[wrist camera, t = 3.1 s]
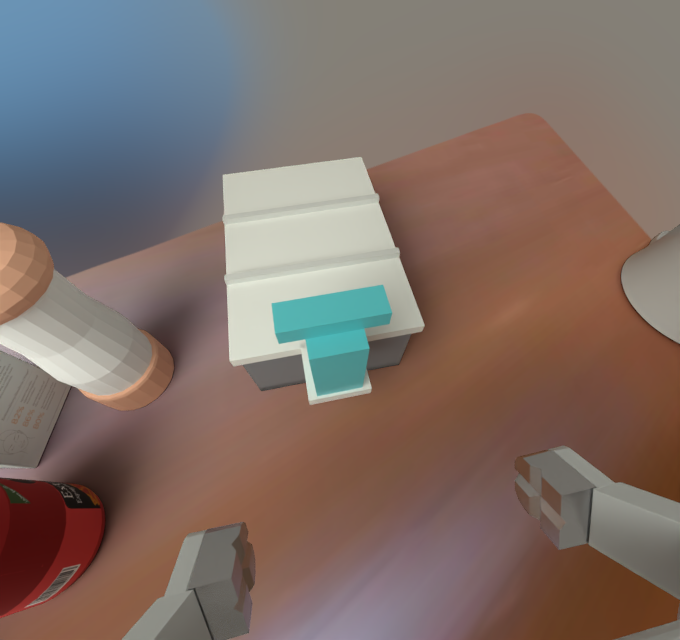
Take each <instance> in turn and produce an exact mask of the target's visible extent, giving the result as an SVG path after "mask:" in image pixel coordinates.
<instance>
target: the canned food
mask: <svg viewBox="0 0 680 640" xmlns="http://www.w3.org/2000/svg"><path fill="white" fill-rule="evenodd" d="M104 528H105V511H104V508H103V504H102V502H101V501H100V499H99V497H98V496H97V495H96V494H95V493H94V492H92V491H91V490H90V489H88V488H86V487H84V486H82V485H78V484H71V483H59V482H46V481H34V480H22V479H10V478H0V618H2V617H5V616H8V615H10V614H13V613H16V612H19V611H22V610H25V609H28V608H31V607H34V606H37V605H40V604H43V603H45V602H47V601H49V600H51V599H53V598H54V597H56V596H57V595H59V594H60V593H61V592H63V591H64V590H65V589H67V588H68V587H69V586H70V585H72V584H73V583H74V582H75V581H76V580H77V579H78V578H79V577H80V576H81V575H82V574H83V572H84V571H85V570H86V569H87V567H88V566H89V565H90V563H91V562H92V560H93V558H94V557H95V555H96V553H97V551H98V548H99V546H100V544H101V541H102V537H103V534H104Z"/></svg>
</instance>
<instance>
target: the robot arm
mask: <svg viewBox="0 0 680 640" xmlns="http://www.w3.org/2000/svg"><path fill="white" fill-rule="evenodd" d="M621 280H622V285H623V289H624V291H625V294H626V296H627V298H628V299H629V301H630V303H631V304H632V306H633V307H634V308H635V309H636V311H637V312H638V313H639V314H640V315H641V316H642V317H643V318H644V319H645V320H646V321H647V322H648V323H649V324H650V325H651V326H653V327H654V328H655V329H657V330H658V331H659V332H661V333H662V334H664V335H665V336H667V337H668V338H670V339H672V340H674V341H675V342H677V343H679V344H680V225H678V226H677V227H675V228H674V229H673V230H671V231H663V232H661V233H660V234H658V235H657V236H655V237H654V238H653V239H652V240H651V242H650V244H649V246H648V247H646V248H644V249H642V250H640V251H638V252H637V253H635V254H633V255H632V256H630V257H629V258H628V259H627V260H626V262H625V263H624V265H623V268H622V273H621ZM515 469H516V470H517V471H518V472H519V475H518V476H517V478H516V479H515V491H516V494H517V496H518V499H519V501H520V503H521V504H522V506H523V508H524V509H525V510H526V511H527V513H528V514H529V515H531V516H533V517H535V518H537V519H539V520H540V527H541V529H542V530H543V532H544V533H545V534H546V535H547V536H548V538H549V539H550V540H551V541H552V542H553V543H554V545H555V546H556V547H557V548H558V549H559V550H560V549H565V548H569V547H573V546H578V545H582V544H586V543H589V545H590V546H591V547H593V548H595V549H596V550H598V551H600V552H601V553H603V554H605V555H606V556H608V557H610V558H611V559H613V560H615V561H616V562H618V563H620V564H621V565H623V566H625V567H626V568H628V569H630V570H631V571H633V572H634V573H636V574H638V575H639V576H641V577H643V578H644V579H646V580H648V581H649V582H651V583H653V584H654V585H656V586H658V587H659V588H661V589H663V590H664V591H666V592H668V593H669V594H671V595H673V596H674V597H676V598H678V599H679V600H680V503H678V502H675V501H672V500H669V499H666V498H664V497H661V496H658V495H655V494H652V493H650V492H647V491H644V490H641V489H638V488H636V487H633V486H630V485H627V484H624V483H622V482H619V483H615V482H613V481H612V480H611V479H609V478H608V477H607V476H605V475H604V474H603V473H602V472H600V471H599V470H598V469H596V468H595V467H594V466H592V465H591V464H590V463H588V462H587V461H586V460H585V459H583V458H582V457H581V456H579V455H578V454H577V453H575V452H574V451H573V450H572V449H570V448H569V447H566V446H560V447H556V448H552V449H548V450H544V451H540V452H536V453H532V454H528V455H524V456H520V457H517V458H516V460H515ZM247 538H248V529H247V526H246V523H244V522H240V523H235V524H231V525H226V526H221V527H216V528H211V529H207V530H204V531H199V532H194V533H189V534H188V535H187V537H186V538H185V539H184V542H183V545H182V548H181V550H180V553H179V556H178V559H177V562H176V564H175V567H174V570H173V573H172V576H171V578H170V581H169V584H168V587H167V590H166V592H165V595H164V597H161V598H158V599H157V600H156V601H155V602H154V603H153V604H152V606H151V607H150V608H149V609H148V610H147V611H146V612H145V614H144V615H143V616H142V617H141V618H140V619H139V620H138V622H137V623H136V624H135V625H134V626H133V627H132V628H131V629H130V631H129V632H128V633H127V634H126V635H125V636H124V637H123V639H122V640H227V639H230V638H234V637H237V636H240V635H244V634H247V633H249V628H250V620H251V611H252V600H251V597H250V593H249V592H250V591H251V589H252V588H253V586H254V584H255V555H254V550H253V546H252V544H251V543H249V542H248V541H247ZM615 640H680V605H679V610H678V615H677V621H674V622H671V623H667V624H664V625H661V626H658V627H654V628H651V629H648V630H644V631H641V632H638V633H634V634H631V635H628V636H624V637H621V638H618V639H615Z"/></svg>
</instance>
